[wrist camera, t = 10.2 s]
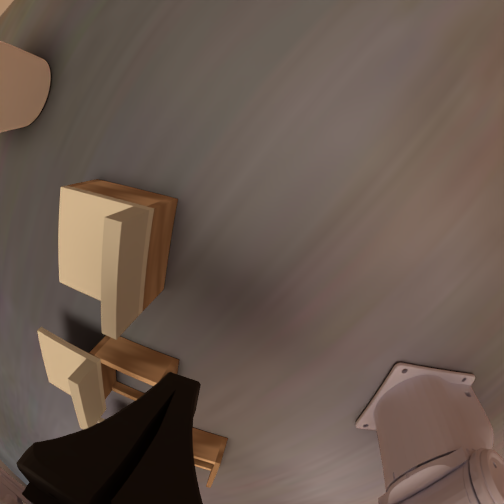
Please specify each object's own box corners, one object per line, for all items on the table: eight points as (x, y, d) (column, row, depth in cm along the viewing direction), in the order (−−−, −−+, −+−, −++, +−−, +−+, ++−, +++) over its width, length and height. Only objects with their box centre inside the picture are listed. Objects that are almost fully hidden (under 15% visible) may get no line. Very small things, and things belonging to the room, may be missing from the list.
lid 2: (154, 208, 16) (121, 222, 13) (142, 311, 18) (116, 339, 15) (66, 185, 16) (29, 194, 13) (64, 278, 19) (34, 298, 15)
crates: (297, 231, 19) (297, 247, 15) (217, 465, 28) (210, 487, 25) (97, 179, 20) (67, 185, 16) (103, 421, 29) (91, 439, 26)
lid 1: (100, 359, 20) (77, 384, 17) (106, 408, 23) (89, 432, 20) (41, 326, 21) (17, 346, 18) (52, 378, 23) (34, 397, 20)
